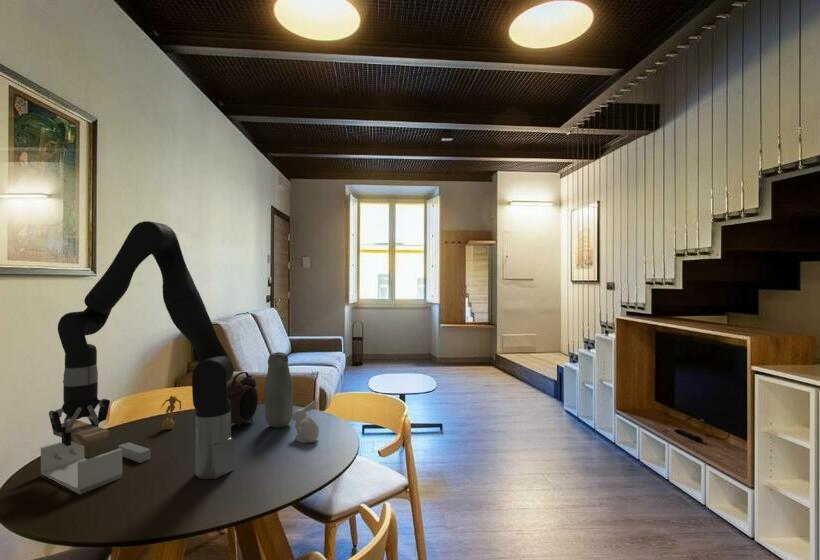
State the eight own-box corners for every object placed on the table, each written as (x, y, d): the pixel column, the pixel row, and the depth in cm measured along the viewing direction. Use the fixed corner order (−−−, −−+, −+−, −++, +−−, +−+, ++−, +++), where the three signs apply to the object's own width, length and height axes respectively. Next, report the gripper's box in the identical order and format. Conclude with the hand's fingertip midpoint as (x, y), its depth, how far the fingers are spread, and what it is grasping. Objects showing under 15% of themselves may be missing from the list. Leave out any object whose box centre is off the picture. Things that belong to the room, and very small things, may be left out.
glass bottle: (295, 421, 157) (295, 350, 157) (288, 431, 147) (288, 355, 147) (269, 421, 157) (269, 350, 157) (261, 431, 147) (260, 355, 147)
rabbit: (289, 436, 142) (289, 403, 142) (314, 430, 148) (313, 397, 148) (304, 447, 132) (304, 411, 132) (329, 440, 138) (329, 405, 138)
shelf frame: (122, 477, 113) (122, 449, 113) (80, 494, 104) (80, 463, 104) (82, 461, 123) (82, 435, 123) (40, 475, 114) (40, 447, 114)
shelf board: (108, 439, 112) (108, 430, 112) (85, 446, 107) (85, 437, 107) (76, 428, 120) (76, 419, 120) (53, 434, 115) (53, 425, 115)
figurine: (153, 430, 148) (153, 398, 148) (165, 425, 154) (165, 393, 154) (174, 431, 147) (174, 399, 147) (185, 426, 153) (185, 394, 153)
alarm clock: (238, 432, 146) (238, 377, 146) (221, 431, 147) (221, 376, 147) (261, 418, 160) (261, 368, 160) (245, 417, 162) (244, 368, 162)
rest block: (150, 458, 125) (150, 449, 125) (140, 462, 122) (140, 453, 122) (128, 451, 130) (128, 442, 130) (118, 455, 127) (118, 445, 127)
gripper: (55, 389, 105) (55, 453, 105) (116, 377, 118) (116, 435, 118) (42, 386, 109) (42, 448, 109) (102, 374, 122) (102, 430, 122)
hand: (80, 441), depth 113 cm, fingers closed on shelf board, 5 cm apart
